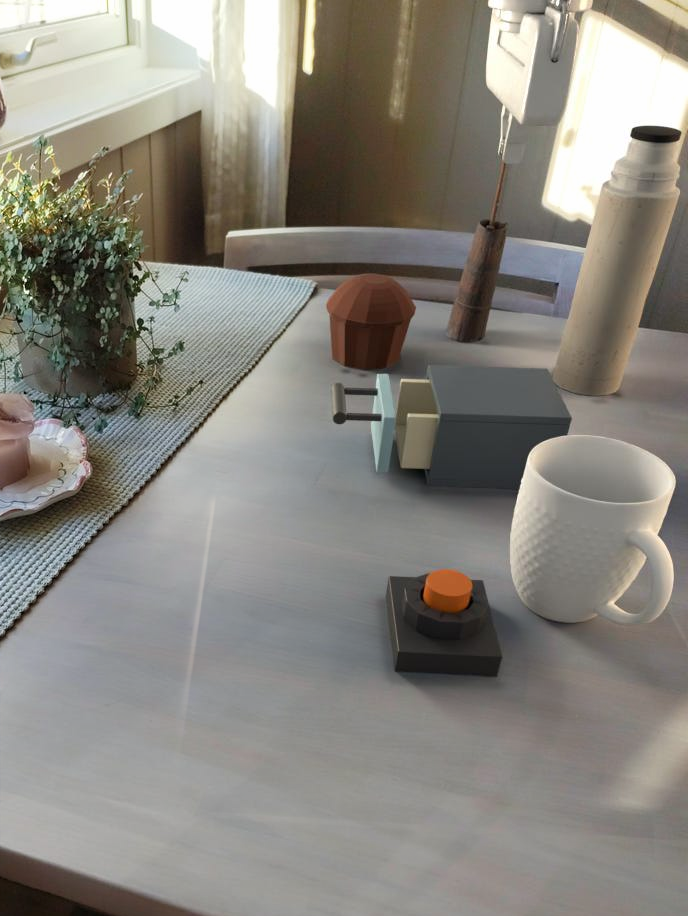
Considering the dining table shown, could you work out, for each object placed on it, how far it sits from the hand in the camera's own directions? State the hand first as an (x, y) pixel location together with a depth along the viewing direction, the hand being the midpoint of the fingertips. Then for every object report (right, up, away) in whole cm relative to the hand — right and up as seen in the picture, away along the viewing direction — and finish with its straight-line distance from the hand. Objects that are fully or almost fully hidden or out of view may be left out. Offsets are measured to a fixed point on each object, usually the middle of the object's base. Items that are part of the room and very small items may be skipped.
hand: (509, 160), depth 87 cm
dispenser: (0, -27, +10) cm, 29 cm away
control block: (-10, -46, -12) cm, 49 cm away
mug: (+2, -44, -9) cm, 45 cm away
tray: (-8, -26, +10) cm, 29 cm away
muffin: (-9, -9, +31) cm, 34 cm away
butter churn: (+6, -6, +36) cm, 37 cm away
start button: (-10, -43, -15) cm, 47 cm away
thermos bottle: (+18, -15, +25) cm, 34 cm away
